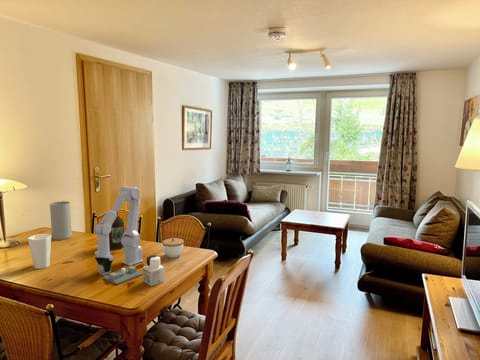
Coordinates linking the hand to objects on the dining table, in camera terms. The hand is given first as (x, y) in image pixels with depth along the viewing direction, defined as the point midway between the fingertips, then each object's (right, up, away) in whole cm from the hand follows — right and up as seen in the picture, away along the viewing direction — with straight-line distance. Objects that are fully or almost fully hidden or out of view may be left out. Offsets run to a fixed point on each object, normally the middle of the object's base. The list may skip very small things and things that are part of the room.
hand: (104, 270), depth 181 cm
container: (+29, -3, -10) cm, 30 cm away
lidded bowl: (+31, +2, +27) cm, 41 cm away
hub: (0, -1, 0) cm, 1 cm away
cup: (-38, 0, +9) cm, 39 cm away
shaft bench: (+11, -2, -5) cm, 12 cm away
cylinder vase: (-55, +7, +62) cm, 83 cm away
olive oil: (-9, +4, +41) cm, 43 cm away
